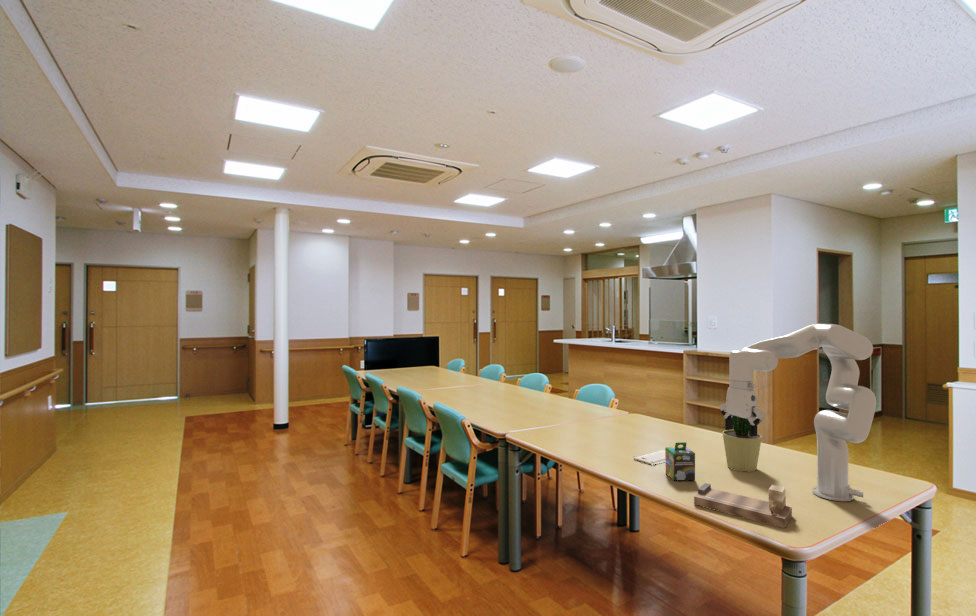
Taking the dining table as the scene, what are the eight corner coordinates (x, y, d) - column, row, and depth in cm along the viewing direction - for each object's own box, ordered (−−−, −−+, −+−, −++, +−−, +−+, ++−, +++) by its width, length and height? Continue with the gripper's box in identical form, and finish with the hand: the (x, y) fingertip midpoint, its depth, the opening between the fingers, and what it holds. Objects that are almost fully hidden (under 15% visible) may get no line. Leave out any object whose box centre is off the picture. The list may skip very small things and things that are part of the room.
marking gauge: (785, 510, 167) (785, 487, 167) (778, 522, 158) (778, 497, 158) (772, 507, 169) (772, 484, 169) (764, 518, 160) (764, 494, 160)
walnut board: (791, 516, 164) (791, 502, 164) (784, 528, 155) (784, 514, 155) (705, 495, 183) (705, 483, 183) (694, 504, 174) (694, 492, 174)
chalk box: (686, 473, 206) (686, 438, 206) (696, 481, 197) (696, 444, 197) (664, 473, 206) (664, 438, 206) (673, 481, 197) (673, 445, 197)
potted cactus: (717, 467, 213) (717, 399, 213) (728, 459, 225) (728, 394, 225) (756, 476, 203) (756, 404, 203) (765, 467, 214) (766, 399, 214)
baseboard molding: (696, 455, 233) (674, 449, 243) (696, 449, 233) (674, 444, 243) (655, 468, 215) (633, 461, 225) (655, 461, 215) (633, 454, 225)
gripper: (770, 388, 168) (770, 437, 168) (727, 381, 184) (727, 426, 184) (755, 389, 165) (755, 440, 165) (713, 382, 181) (713, 428, 181)
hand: (740, 432), depth 174 cm, fingers open, 9 cm apart
